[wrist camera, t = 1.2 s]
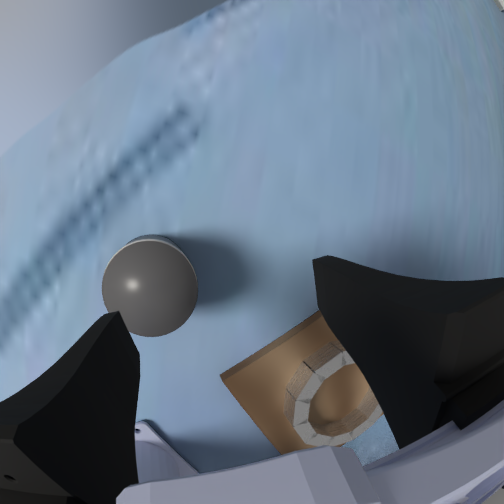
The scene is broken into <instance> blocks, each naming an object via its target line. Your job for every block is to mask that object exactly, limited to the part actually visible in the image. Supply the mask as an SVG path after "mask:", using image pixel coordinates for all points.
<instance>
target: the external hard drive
mask: <svg viewBox="0 0 504 504" xmlns="http://www.w3.org/2000/svg"><path fill="white" fill-rule="evenodd" d="M494 2H495V3H496V5H497V6H498V8H499V9H500V11H502V10H504V0H494Z"/></svg>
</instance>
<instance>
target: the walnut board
mask: <svg viewBox="0 0 504 504" xmlns="http://www.w3.org/2000/svg"><path fill="white" fill-rule="evenodd" d="M332 341H338V339H337V338H336V336H335V335H334V334H333V332H332V331H331V329H330V328H329V327H328V325H327V323H326V321H325V319H324V317H323V315H322V313H321V312H320V310H319V311H317V312H316V313H315V314H313V315H312V316H310V317H309V318H307V319H306V320H304V321H303V322H302V323H300V324H299V325H297V326H296V327H294V328H293V329H291V330H290V331H288V332H287V333H285V334H284V335H282V336H281V337H279V338H278V339H276V340H275V341H273V342H272V343H270V344H268V345H267V346H265V347H264V348H262V349H261V350H259V351H258V352H256V353H254V354H253V355H251V356H250V357H248V358H246V359H245V360H243V361H242V362H240V363H238V364H237V365H235V366H234V367H232V368H230V369H229V370H227V371H225V372H224V373H222V374H220V377H221V379H222V381H223V383H224V384H225V385H226V387H227V388H228V389H229V391H230V392H231V393H232V395H233V396H234V397H235V398H236V400H237V401H238V402H239V404H240V405H241V406H242V407H243V409H244V410H245V411H246V413H247V414H248V415H249V416H250V418H251V419H252V420H253V421H254V423H255V424H256V425H257V426H258V427H259V429H260V430H261V431H262V432H263V434H264V435H265V436H266V437H267V438H268V440H269V441H270V442H271V443H272V444H273V445H274V447H275V448H276V449H277V450H278V451H279V453H280V454H281V455H283V454H287V453H290V452H293V451H298V450H303V449H308V448H313V447H318V446H314V445H309V444H306V443H304V441H303V440H302V439H301V437H300V436H299V434H298V433H297V432H296V430H295V429H294V428H293V426H292V425H291V423H290V422H289V421H288V419H287V418H286V416H285V415H284V413H283V412H284V400H285V388H286V386H287V384H288V383H289V381H290V380H291V378H292V377H293V375H294V373H295V372H296V370H297V369H298V367H299V366H300V364H301V362H304V361H303V360H304V359H306V358H307V357H309V356H310V355H311V354H313V353H314V352H316V351H317V350H319V349H320V348H321V347H323V346H324V345H326V344H327V343H328V342H329V343H330V342H332ZM368 388H369V384H368V383H367V381H366V379H365V377H364V375H363V374H362V372H361V371H360V369H359V368H358V366H357V365H356V363H353V364H349V365H344V366H343V367H341V368H340V369H339V370H337V371H336V372H335V373H333V374H332V375H331V376H329V377H328V378H326V379H325V380H324V381H323V382H322V384H321V386H320V387H319V389H318V390H317V392H316V393H315V395H314V396H313V398H312V399H311V401H310V407H309V415H308V421H309V422H313V423H317V424H321V425H323V424H327V423H331V422H334V421H338V420H341V419H342V418H344V417H345V416H346V415H348V414H349V413H350V412H352V411H353V410H354V409H356V408H357V406H358V405H359V404H360V402H361V401H362V399H363V397H364V396H365V394H366V393H367V391H368ZM383 414H384V413H383V412H382V414H381V415H380V416H382V415H383ZM380 416H379V417H380ZM344 444H345V443H343V444H340V445H336V447H341V446H342V445H344Z"/></svg>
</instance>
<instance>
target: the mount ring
mask: <svg viewBox="0 0 504 504" xmlns="http://www.w3.org/2000/svg"><path fill="white" fill-rule="evenodd" d="M303 361H304V362H301V364H300V366H299V367H298V369H297V370H296V372H295V373H294V375H293V377H292V378H291V380H290V381H289V383H288V384H287V386H286V388H285V400H284V412H283V413H284V415H285V416H286V418H287V419H288V421H289V422H290V423H291V425H292V426H293V428H294V429H295V430H296V432H297V433H298V434H299V436H300V437H301V439H302V440H303V441H304V443H306V444H309V445H314V446H323V445H328V446H336V445H340V444H343V443H346V442H349V441H352V440H354V439H355V438H356V437H358V436H359V435H360V434H362V433H363V432H364V431H366V430H367V429H368V428H369V427H371V426H372V425H373V424H374V423H375V422H376V421H377V419H378V418H379V416H380V415H381V414H382V412H383V411H382V409H381V407H380V405H379V403H378V401H377V399H376V397H375V395H374V393H373V392H372V390H371V388H370V386H369V388H368V391H367V393H366V394H365V396H364V397H363V399H362V401H361V402H360V404H359V405H358V406H357V408H356V409H354V410H353V411H352V412H350V413H349V414H348V415H346V416H345V417H344V418H342V419H341V420H338V421H334V422H331V423H327V424H323V425H321V424H317V423H313V422H309V421H308V415H309V407H310V401H311V399H312V398H313V396H314V395H315V393H316V392H317V390H318V389H319V387H320V386H321V384H322V382H323V381H324V380H325V379H326V378H328V377H329V376H331V375H332V374H333V373H335V372H336V371H337V370H339V369H340V368H341V367H343V366H344V365H349V364H353V363H355V362H354V361H353V359H352V358H351V357H350V355H349V354H348V353H347V351H346V350H345V349H344V347H343V346H342V344H341V343H340V342H339V340H338V341H332V342H330V343H329V342H328V343H327V344H326V345H324V346H323V347H321V348H320V349H319V350H317V351H316V352H314V353H313V354H311V355H310V356H309V357H307V358H306V359H304V360H303Z"/></svg>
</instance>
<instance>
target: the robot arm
mask: <svg viewBox="0 0 504 504" xmlns="http://www.w3.org/2000/svg"><path fill="white" fill-rule="evenodd" d="M312 261H313V269H314V277H315V285H316V293H317V302H318V308H319V310H320V312H321V313H322V315H323V317H324V319H325V321H326V323H327V325H328V327H329V328H330V329H331V331H332V332H333V334H334V335H335V336H336V338H337V339H338V340H339V342H340V343H341V344H342V346H343V347H344V349H345V350H346V351H347V353H348V354H349V355H350V357H351V358H352V359H353V361H354V362H355V363H356V365H357V366H358V368H359V369H360V371H361V372H362V374H363V375H364V377H365V379H366V381H367V383H368V384H369V386H370V388H371V390H372V392H373V393H374V395H375V397H376V399H377V401H378V403H379V405H380V407H381V409H382V411H383V413H384V415H385V417H386V420H387V422H388V424H389V426H390V428H391V430H392V433H393V435H394V437H395V439H396V442H397V444H398V447H399V449H400V450H398V451H396V452H394V453H392V454H390V455H387V456H385V457H383V458H381V459H379V460H377V461H374V462H372V463H370V464H368V465H365V466H363V467H362V465H361V463H360V461H359V459H358V457H357V456H356V454H355V452H354V451H353V449H351V448H344V447H336V446H328V445H323V446H318V447H313V448H308V449H303V450H298V451H293V452H290V453H287V454H283V455H280V456H276V457H273V458H269V459H265V460H262V461H258V462H254V463H250V464H245V465H241V466H237V467H232V468H227V469H222V470H217V471H212V472H207V473H201V474H199V473H198V472H197V471H196V470H195V469H194V468H193V467H192V466H191V465H190V464H189V463H187V462H186V461H185V460H184V459H183V458H182V457H181V456H180V455H179V454H178V453H177V452H176V451H175V450H174V449H172V448H171V447H170V446H169V445H168V444H167V443H166V442H165V441H164V440H163V439H162V438H161V437H160V436H159V435H158V434H157V433H156V432H155V431H154V430H153V429H152V428H151V426H150V425H149V424H148V423H146V422H144V421H140V422H138V423H136V424H135V420H136V410H137V401H138V392H139V383H140V354H139V352H138V350H137V348H136V346H135V344H134V342H133V340H132V337H131V335H130V333H129V331H128V329H127V327H126V325H125V323H124V320H123V318H122V316H121V314H120V312H119V311H115V312H111V313H107V314H104V315H103V316H101V317H100V318H99V319H98V320H97V321H96V322H95V323H94V324H93V325H92V326H91V327H90V328H89V329H88V330H87V331H86V332H85V333H84V334H83V335H82V336H81V338H80V339H79V340H78V341H77V342H76V343H75V344H74V345H73V346H72V347H71V348H70V349H69V350H68V351H67V352H66V353H65V354H64V355H63V356H62V357H61V358H60V359H59V360H58V361H57V362H56V363H55V364H54V365H52V366H51V367H50V368H49V369H48V370H47V371H45V372H44V373H43V374H42V375H41V376H39V377H38V378H37V379H36V380H34V381H33V382H31V383H30V384H28V385H27V386H26V387H24V388H23V389H21V390H20V391H19V392H17V393H15V394H14V395H12V396H10V397H9V398H7V399H5V400H4V401H2V402H0V504H481V503H483V502H484V501H485V500H487V499H488V498H489V497H490V496H492V495H493V494H494V493H495V492H496V491H497V490H499V489H500V488H501V487H502V486H503V485H504V278H503V277H501V278H493V279H484V280H475V281H439V280H426V279H418V278H412V277H405V276H400V275H395V274H391V273H387V272H383V271H379V270H376V269H372V268H369V267H366V266H362V265H359V264H356V263H353V262H350V261H347V260H344V259H341V258H337V257H334V256H329V255H327V256H324V257H320V258H317V259H313V260H312ZM135 429H140V431H137V430H135Z"/></svg>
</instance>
